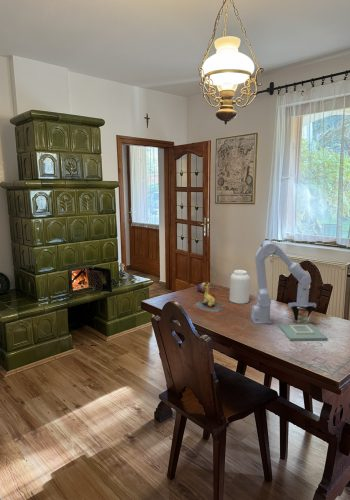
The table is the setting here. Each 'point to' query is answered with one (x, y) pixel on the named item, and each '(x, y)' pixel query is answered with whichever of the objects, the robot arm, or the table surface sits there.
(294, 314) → the robot arm
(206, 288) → the yellow giraffe figurine
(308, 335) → the plate
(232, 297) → the white jar
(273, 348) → the table surface
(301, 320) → the block stack
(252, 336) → the table surface
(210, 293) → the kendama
